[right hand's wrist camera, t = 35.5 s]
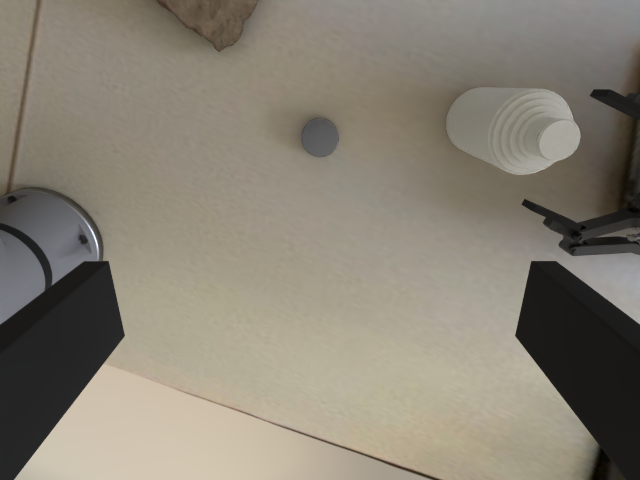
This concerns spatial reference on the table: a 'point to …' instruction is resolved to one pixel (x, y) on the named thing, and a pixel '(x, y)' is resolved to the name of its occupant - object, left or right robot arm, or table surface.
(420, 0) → the table surface
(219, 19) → the stone
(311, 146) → the cap
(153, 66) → the table surface
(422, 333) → the table surface
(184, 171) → the table surface
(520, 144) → the bottle
